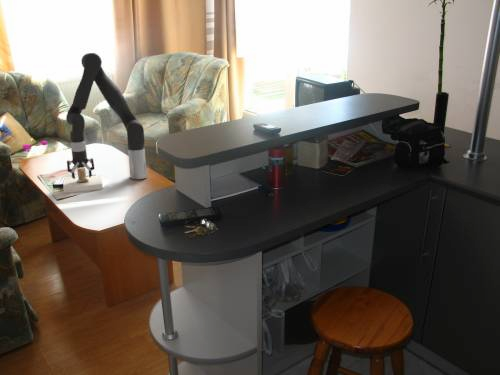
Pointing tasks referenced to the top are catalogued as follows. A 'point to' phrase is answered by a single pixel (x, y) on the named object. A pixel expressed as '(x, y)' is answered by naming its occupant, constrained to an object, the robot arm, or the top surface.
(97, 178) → the socket board
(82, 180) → the oak peg
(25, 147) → the toy block
